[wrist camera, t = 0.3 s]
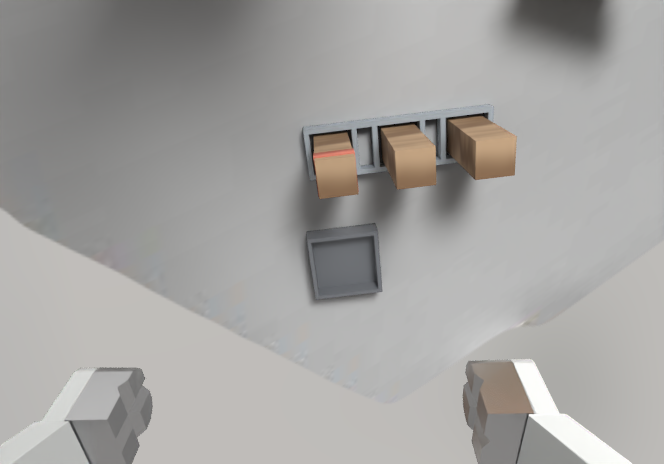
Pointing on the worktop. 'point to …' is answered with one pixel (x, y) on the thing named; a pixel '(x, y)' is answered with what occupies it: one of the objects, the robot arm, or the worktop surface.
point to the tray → (345, 261)
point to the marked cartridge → (335, 165)
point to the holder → (375, 122)
